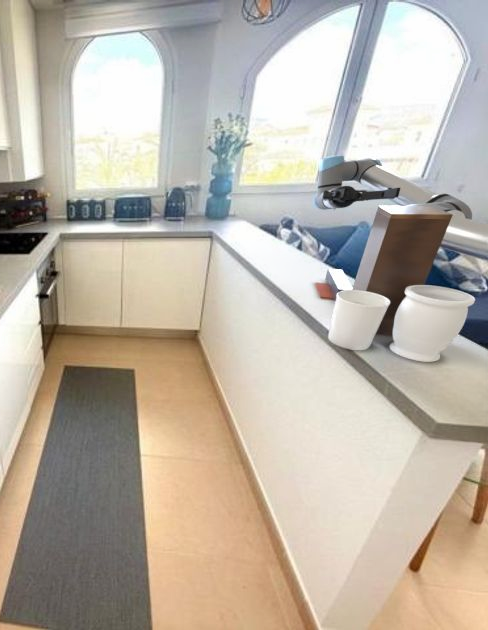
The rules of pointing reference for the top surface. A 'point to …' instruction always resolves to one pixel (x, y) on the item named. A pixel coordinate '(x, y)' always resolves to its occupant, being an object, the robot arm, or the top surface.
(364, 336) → the white flower pot
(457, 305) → the jar
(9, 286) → the top surface
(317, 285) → the mat
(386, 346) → the top surface
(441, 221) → the stand
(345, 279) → the slim box
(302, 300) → the top surface
